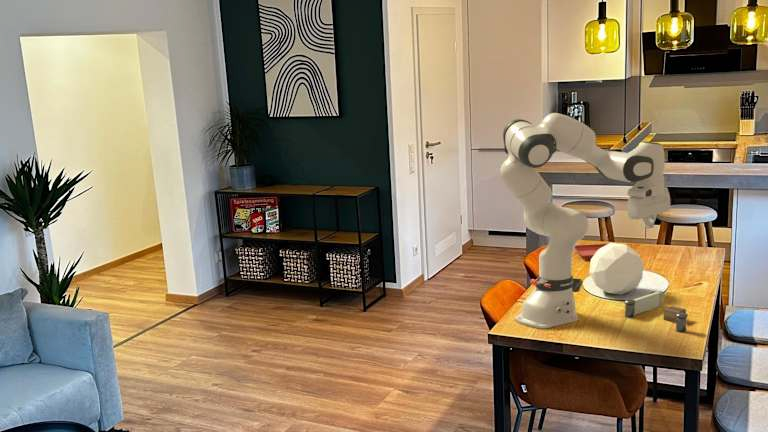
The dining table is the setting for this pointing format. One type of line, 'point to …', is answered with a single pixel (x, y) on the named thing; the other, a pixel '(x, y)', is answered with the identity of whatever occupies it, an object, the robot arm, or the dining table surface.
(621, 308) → the dining table surface
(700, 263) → the dining table surface
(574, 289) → the phone
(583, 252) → the plant saucer
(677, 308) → the walnut block
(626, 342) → the dining table surface
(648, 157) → the robot arm
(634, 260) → the geometric orb
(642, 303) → the bar
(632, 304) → the gate posts
